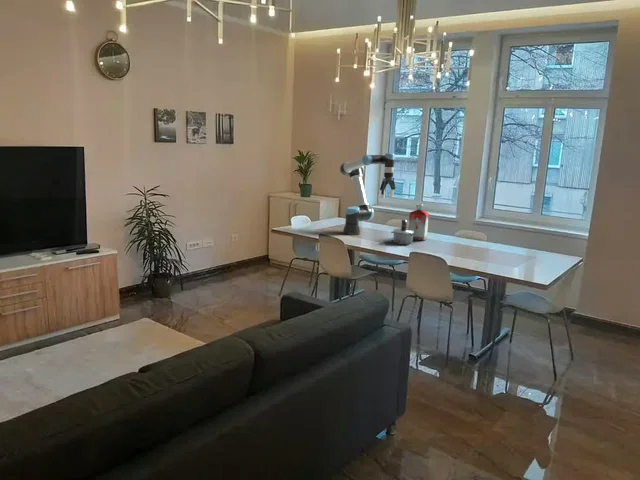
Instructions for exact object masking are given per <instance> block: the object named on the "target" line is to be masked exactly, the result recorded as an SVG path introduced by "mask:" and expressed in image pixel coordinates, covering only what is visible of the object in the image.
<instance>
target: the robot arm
mask: <svg viewBox="0 0 640 480" xmlns="http://www.w3.org/2000/svg"><path fill="white" fill-rule="evenodd" d="M369 165H384V172H383V177H384V178H383V177H382V181H381V185H380V188H379V190H380V192H381V193H380V194H381V195H380V198H381V199H385V196H386V195H385V193H386V191H385V190H386V188H387V185H389V187H390V191H389V193H390V194H389V198H394V194H395V193H394V191H395V190H396V184H395V177H394V169H395V168H394V167H395V153H390V152H386V153H385V155H384V154H383V155H382V154H365V155H363V156H362V157H360V158H357V159H354V160H352V161H346V162H343V163H342V164H341V165H340V166H339V172H340V174H341V175H343V176H346V177H350V180H352V185H353V190H354V193H355V197H356V198H355V199H356V202H357V205H356V206H355V205H354V206H348V207H346V209H345V221H344V222H345V223H344V224H345V225H344V227H343V230H342V234H344V235H351V236H359V235H360V234H361V230H360V225H359V222H366V221H367V222H368V221H371V220H372V219H373V218H374V215H375V211H374V209H373V207H371V205H370V204H369V203H368V200H367V195H366V191H365V186H364V182H363V177H364V173H365V167H366V166H369Z"/></svg>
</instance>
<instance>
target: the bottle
mask: <svg viewBox="0 0 640 480" xmlns="http://www.w3.org/2000/svg"><path fill="white" fill-rule="evenodd" d="M415 207H416V209H415V210H413V211H410V212H409V217H408V229H411V230H413V231H414V233H413V234H414V235H416V236H413V240H414V241H415V240H416V241H421V242H423V241H425V240H427V239H428V238H427V236H428V228H429V226H428V225H429V215H430V214H429V212H427V211H425V210H423V209H424V204H423V203H416V205H415Z"/></svg>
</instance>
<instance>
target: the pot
mask: <svg viewBox="0 0 640 480" xmlns="http://www.w3.org/2000/svg"><path fill="white" fill-rule="evenodd" d="M390 232H391V234H393V237H392V238H393V240H392V242H393V243H394V244H397V245H404V246H405V245H412V244H413V240H414V239H413V236H416V235H414V234H413V233H411V234H402V233H396V232H394V231H393V230H392V231H390Z"/></svg>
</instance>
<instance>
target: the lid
mask: <svg viewBox="0 0 640 480" xmlns="http://www.w3.org/2000/svg"><path fill="white" fill-rule="evenodd" d="M407 223H408V219H401V226H400V228H393V230H392V231H394V232H396V233H402V234H411V233H414V231H413V230H411V229H409V228H407Z"/></svg>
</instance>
